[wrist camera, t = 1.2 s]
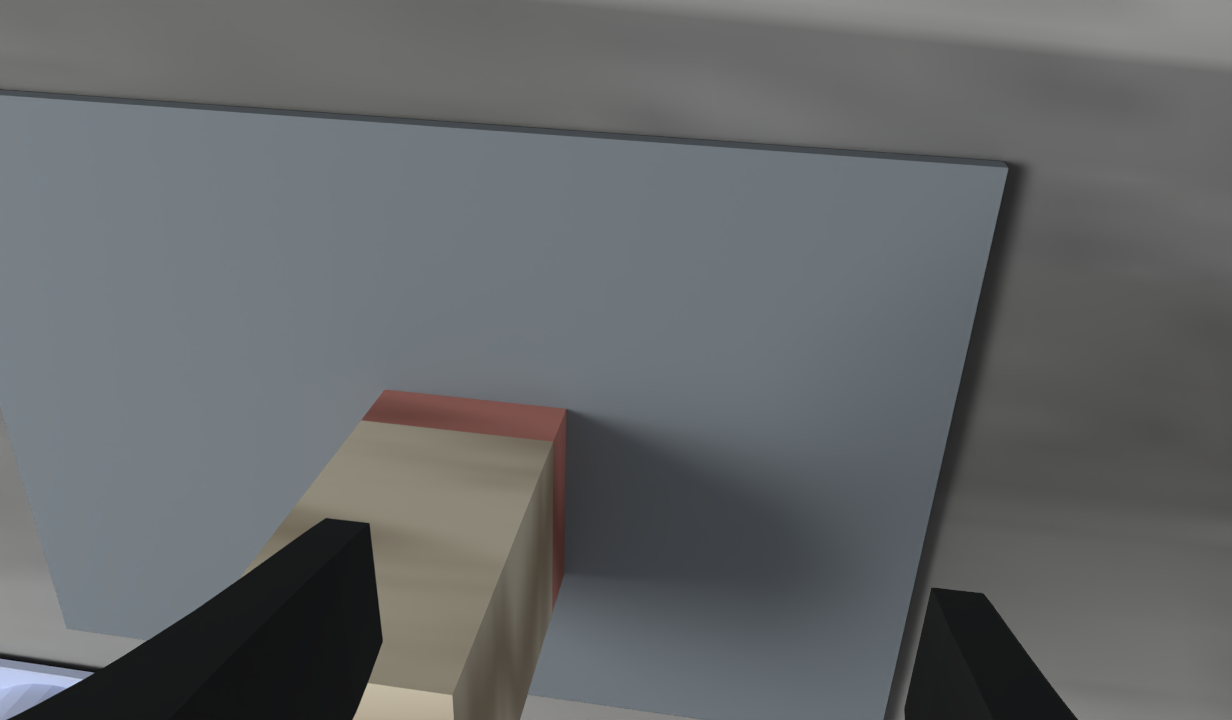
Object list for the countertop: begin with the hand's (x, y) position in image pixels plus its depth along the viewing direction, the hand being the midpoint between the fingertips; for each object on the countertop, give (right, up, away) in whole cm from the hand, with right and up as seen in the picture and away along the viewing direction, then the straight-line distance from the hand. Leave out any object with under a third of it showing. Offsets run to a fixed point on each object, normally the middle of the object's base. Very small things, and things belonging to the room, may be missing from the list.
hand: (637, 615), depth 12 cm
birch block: (-4, 0, +12) cm, 12 cm away
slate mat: (-5, +1, +12) cm, 13 cm away
